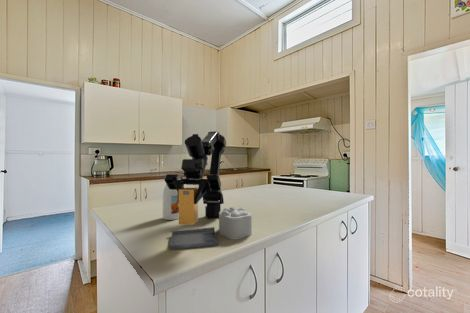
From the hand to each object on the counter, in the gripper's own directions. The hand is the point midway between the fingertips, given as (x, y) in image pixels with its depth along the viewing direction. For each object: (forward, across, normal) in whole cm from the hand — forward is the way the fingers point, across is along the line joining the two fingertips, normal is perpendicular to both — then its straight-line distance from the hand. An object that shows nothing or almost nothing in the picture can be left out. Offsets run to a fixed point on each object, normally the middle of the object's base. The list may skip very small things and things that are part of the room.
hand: (186, 203), depth 70 cm
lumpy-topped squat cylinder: (0, +13, +20) cm, 23 cm away
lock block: (+4, 0, +6) cm, 7 cm away
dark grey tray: (+7, +1, +12) cm, 14 cm away
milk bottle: (-11, -18, +30) cm, 37 cm away
